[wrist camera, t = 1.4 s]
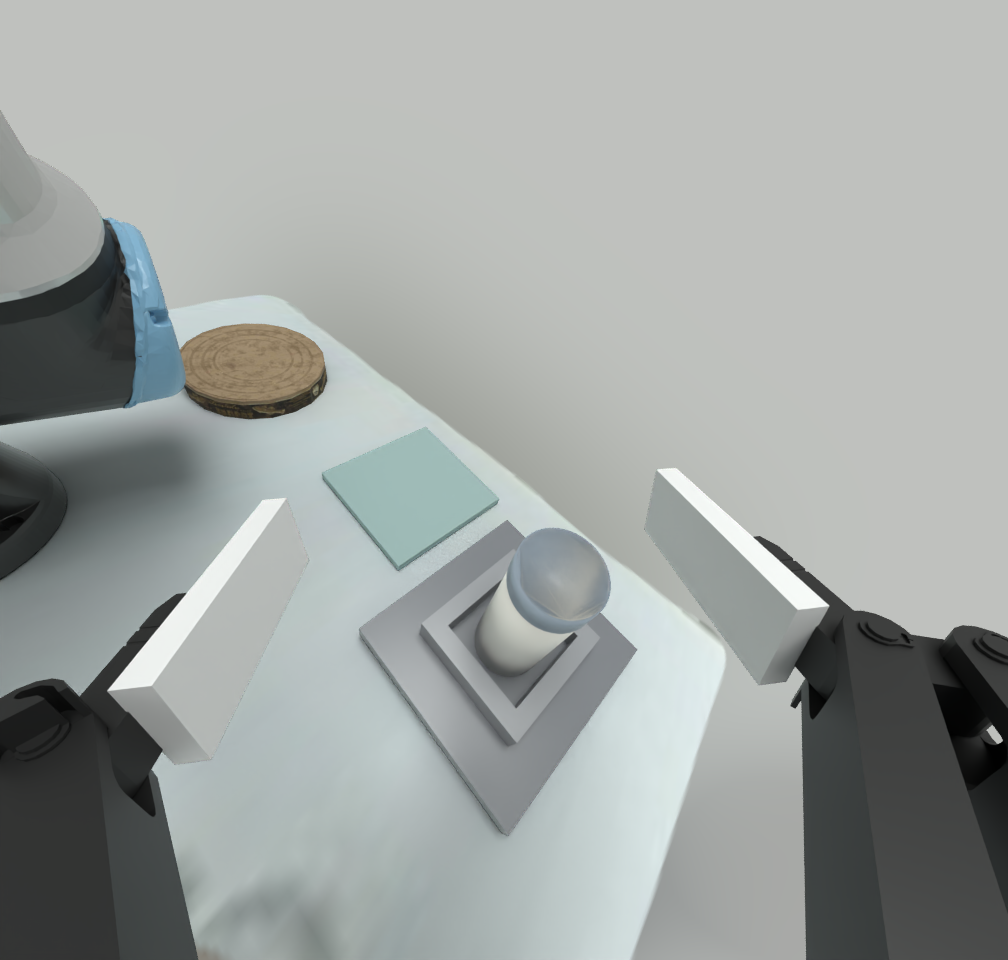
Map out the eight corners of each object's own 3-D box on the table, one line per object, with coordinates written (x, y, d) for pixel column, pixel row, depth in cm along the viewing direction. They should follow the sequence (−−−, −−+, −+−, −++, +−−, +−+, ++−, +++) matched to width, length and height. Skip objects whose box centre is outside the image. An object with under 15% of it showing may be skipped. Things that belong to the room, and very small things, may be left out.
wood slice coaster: (286, 332, 56) (282, 313, 54) (351, 391, 52) (350, 373, 49) (159, 364, 47) (148, 342, 44) (226, 440, 42) (217, 420, 40)
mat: (322, 478, 42) (321, 472, 41) (425, 432, 50) (425, 426, 49) (398, 570, 37) (398, 566, 36) (497, 503, 45) (499, 498, 45)
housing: (360, 635, 33) (357, 618, 29) (502, 529, 43) (512, 507, 40) (501, 832, 27) (518, 839, 24) (627, 655, 37) (651, 641, 34)
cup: (458, 635, 33) (493, 563, 22) (507, 592, 36) (557, 512, 26) (508, 695, 31) (571, 646, 20) (554, 643, 34) (628, 578, 24)
